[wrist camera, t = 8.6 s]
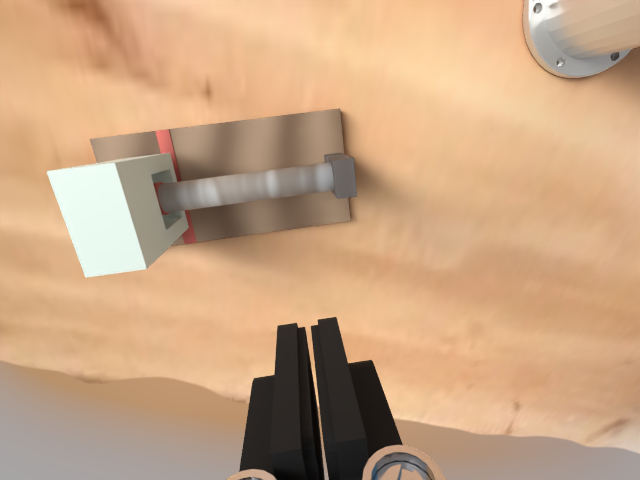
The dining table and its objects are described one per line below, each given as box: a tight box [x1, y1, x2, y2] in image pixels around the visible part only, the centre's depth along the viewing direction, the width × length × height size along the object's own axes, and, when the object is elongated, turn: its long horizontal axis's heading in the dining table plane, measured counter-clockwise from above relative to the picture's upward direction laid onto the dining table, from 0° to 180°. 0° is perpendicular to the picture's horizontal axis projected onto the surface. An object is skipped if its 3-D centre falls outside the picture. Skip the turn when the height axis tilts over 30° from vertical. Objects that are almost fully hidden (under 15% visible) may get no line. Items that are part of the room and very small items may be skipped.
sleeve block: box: [47, 153, 189, 277], centre depth 26 cm, size 4×7×10 cm, turn 7°
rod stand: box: [90, 109, 357, 246], centre depth 30 cm, size 23×11×8 cm, turn 97°
